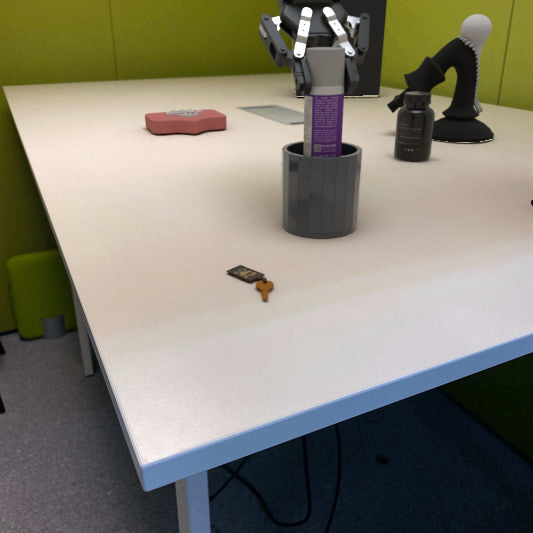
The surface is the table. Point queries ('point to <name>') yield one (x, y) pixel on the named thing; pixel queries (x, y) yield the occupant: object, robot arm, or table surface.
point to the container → (324, 102)
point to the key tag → (253, 278)
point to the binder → (369, 71)
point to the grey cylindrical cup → (320, 191)
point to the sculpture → (465, 95)
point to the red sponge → (185, 121)
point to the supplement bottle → (414, 128)
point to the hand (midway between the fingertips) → (329, 90)
